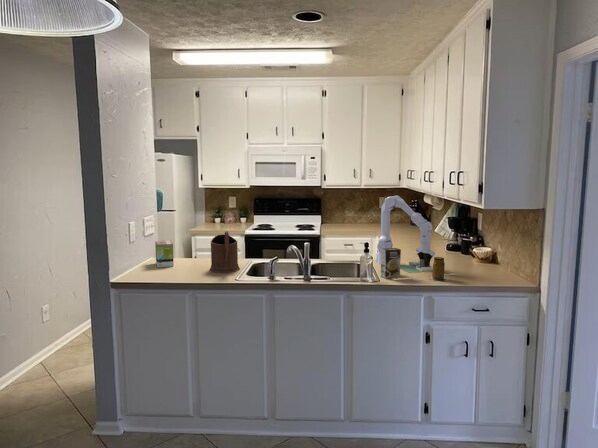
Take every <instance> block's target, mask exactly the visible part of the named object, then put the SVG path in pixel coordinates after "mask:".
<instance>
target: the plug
mask: <svg viewBox="0 0 598 448" xmlns="http://www.w3.org/2000/svg"><path fill="white" fill-rule="evenodd" d="M419 261H420V268H422V267H430V266H431V262H430V263H429V266H425V259H419Z"/></svg>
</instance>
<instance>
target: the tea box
mask: <svg viewBox="0 0 598 448" xmlns="http://www.w3.org/2000/svg"><path fill="white" fill-rule="evenodd" d="M154 243H155V245H154V246H155V264H156V266H157V268H171V267H174V265H175V264H174V263H175V262H174V243H173V241H172V240H157V241H154Z"/></svg>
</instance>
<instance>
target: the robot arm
mask: <svg viewBox="0 0 598 448" xmlns="http://www.w3.org/2000/svg"><path fill="white" fill-rule="evenodd" d="M394 208H399V209H402V211H404V212H405V213H406V214H407V215H408V216H409V217H410V221H412V222H413V223H414V224H415V225H416V227H418V228H419V232H420V247H417V248H415V251H416V252H417V253H416V255H417V257H418V259H419V260H420V259H425V266H429V263H430V264H431V261H432V259H433V258H434V257H435V255H436V252H435V251H433V250H431V243H432V242H431V239H432V230H433V224H432V222H431V221H428V220H427V219H425V218H424V217H423V216H422V214H421V213H419V212H415V211H414V210H413V209H412V208H411V207H410V206H409V205H408V204H407V203H406V201H405V200H404V199H403V198H402V197H401V196H399V195H393V196H387V197H386V198H385V199H384V202H383V204H382V205H381V213H380V237H379V238H378V243H377V244H376V248H377V250H378V251H377V252H376V257H375V259H376V260H375V262H376V264H378V265H380V266H381V250H382V248H393V246H394V245H393V242H392V237H391V235H390V233H391V230H390V229H391V211H392V210H393V209H394Z"/></svg>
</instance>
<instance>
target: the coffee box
mask: <svg viewBox="0 0 598 448" xmlns="http://www.w3.org/2000/svg"><path fill="white" fill-rule="evenodd" d="M401 254H402V249H400V248H398V247H392V248H382V250H381V265H380V277H382V278H383V279H386V280H389V279H392V278H394V277H395V278H397V277H400V276H401V269H400V266H401Z"/></svg>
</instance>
